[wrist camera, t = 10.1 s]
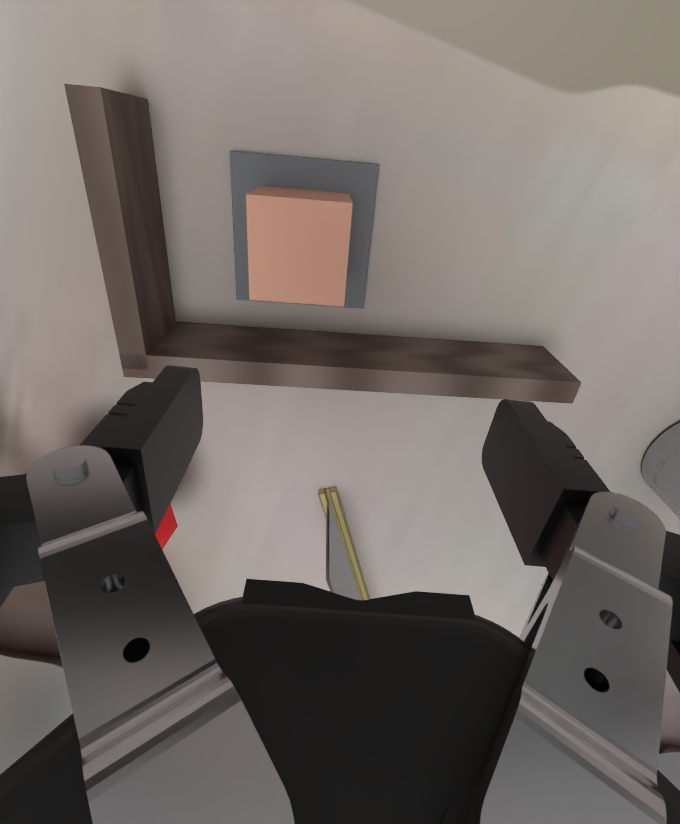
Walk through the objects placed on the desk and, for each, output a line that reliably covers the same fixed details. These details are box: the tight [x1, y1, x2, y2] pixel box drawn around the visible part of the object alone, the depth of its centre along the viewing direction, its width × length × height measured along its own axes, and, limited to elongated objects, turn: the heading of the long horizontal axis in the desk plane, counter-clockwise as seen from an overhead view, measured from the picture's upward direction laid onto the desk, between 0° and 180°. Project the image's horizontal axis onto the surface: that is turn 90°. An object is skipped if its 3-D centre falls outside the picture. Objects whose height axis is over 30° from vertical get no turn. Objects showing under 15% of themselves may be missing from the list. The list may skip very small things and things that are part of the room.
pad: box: [230, 151, 379, 308], centre depth 29 cm, size 9×9×1 cm
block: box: [246, 186, 353, 306], centre depth 26 cm, size 6×6×6 cm
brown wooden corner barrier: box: [64, 84, 581, 403], centre depth 27 cm, size 30×15×6 cm, turn 86°
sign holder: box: [318, 486, 370, 600], centre depth 42 cm, size 21×2×10 cm, turn 13°
